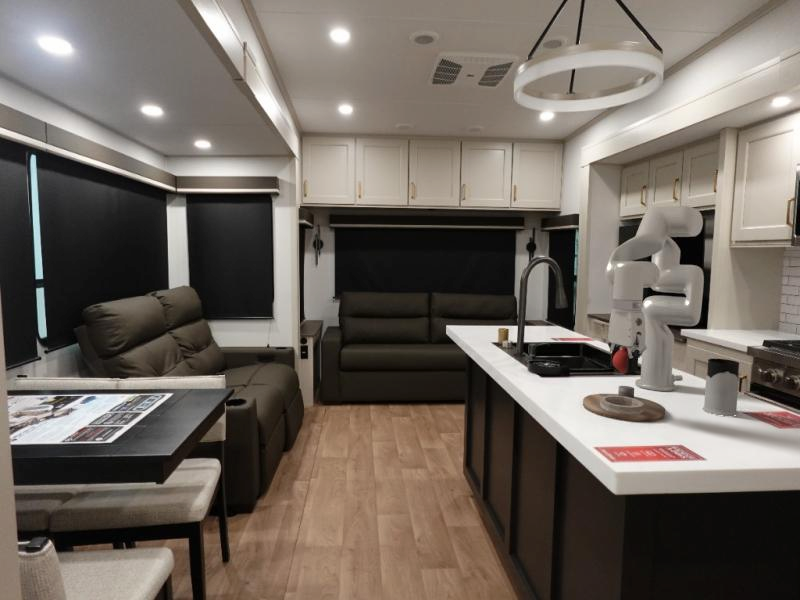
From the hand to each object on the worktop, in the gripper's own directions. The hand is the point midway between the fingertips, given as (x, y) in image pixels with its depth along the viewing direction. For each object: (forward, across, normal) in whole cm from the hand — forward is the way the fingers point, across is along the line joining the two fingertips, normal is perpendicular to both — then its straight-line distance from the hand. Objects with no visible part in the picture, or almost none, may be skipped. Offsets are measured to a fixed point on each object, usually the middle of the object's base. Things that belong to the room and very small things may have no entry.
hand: (623, 368), depth 138 cm
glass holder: (+13, -3, -31) cm, 34 cm away
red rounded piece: (+2, 0, 0) cm, 2 cm away
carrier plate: (+13, +3, -3) cm, 14 cm away
